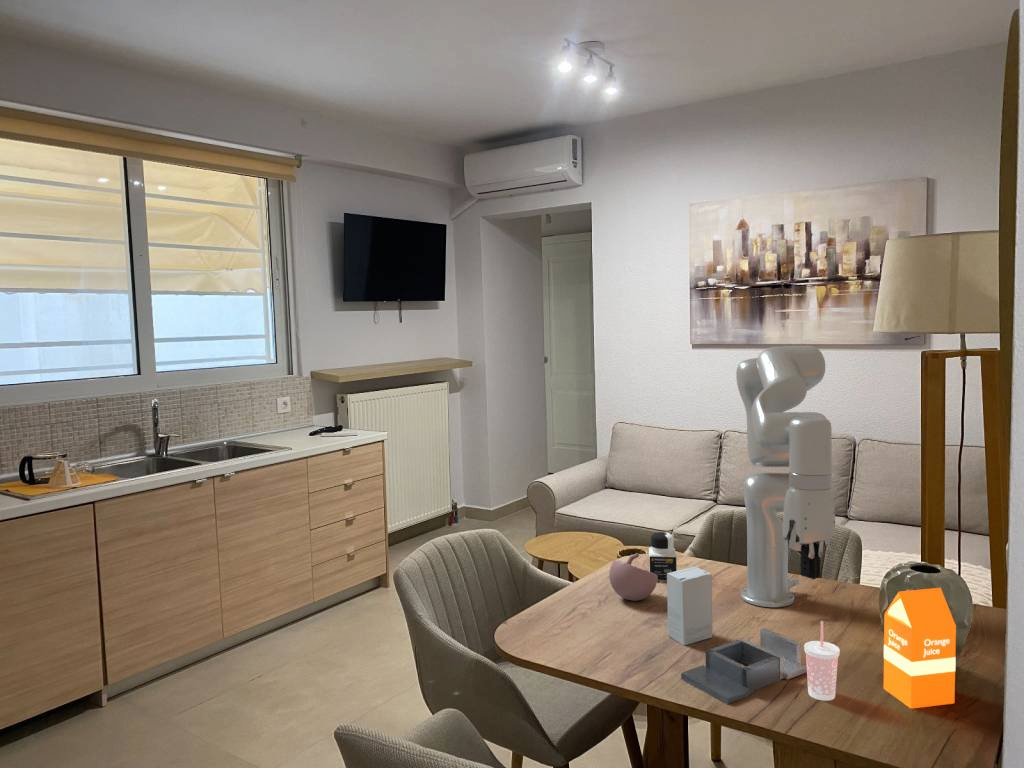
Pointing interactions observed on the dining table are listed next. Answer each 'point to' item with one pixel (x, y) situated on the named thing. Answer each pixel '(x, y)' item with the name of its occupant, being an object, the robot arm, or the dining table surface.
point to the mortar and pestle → (631, 580)
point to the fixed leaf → (731, 673)
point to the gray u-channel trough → (775, 653)
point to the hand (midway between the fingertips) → (810, 576)
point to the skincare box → (689, 605)
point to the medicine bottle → (662, 555)
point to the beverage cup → (821, 668)
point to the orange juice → (920, 649)
